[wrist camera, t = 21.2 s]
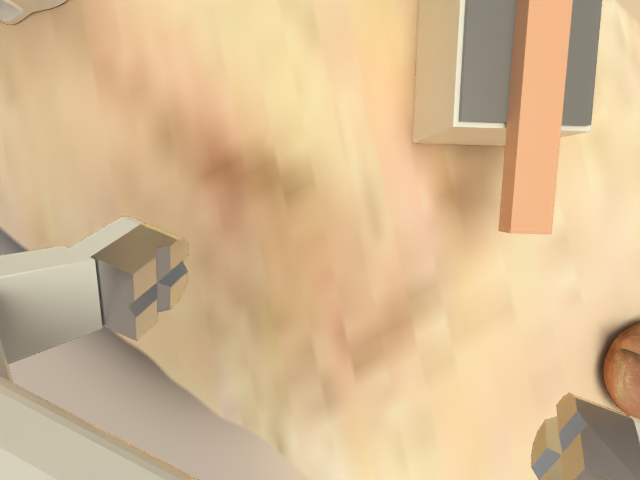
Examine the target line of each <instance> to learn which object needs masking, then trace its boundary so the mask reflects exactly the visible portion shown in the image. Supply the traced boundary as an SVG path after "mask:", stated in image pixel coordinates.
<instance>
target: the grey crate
mask: <svg viewBox="0 0 640 480" xmlns="http://www.w3.org/2000/svg"><path fill="white" fill-rule="evenodd" d="M516 3H517V0H419V11H418V32H417V53H416V74H415V95H414V116H413V137H412V143H427V144H457V145H487V146H505V143H506V130H507V117H508V104H509V92H510V79H511V66H512V53H513V41H514V28H515V15H516ZM601 7H602V0H573V4H572V15H571V26H570V37H569V48H568V59H567V70H566V81H565V92H564V102H563V113H562V124H561V135H560V137H565V136H570V135H575V134H580V133H585V132H590V129H591V120H592V109H593V97H594V86H595V75H596V64H597V52H598V41H599V30H600V19H601Z"/></svg>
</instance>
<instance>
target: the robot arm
mask: <svg viewBox="0 0 640 480" xmlns="http://www.w3.org/2000/svg"><path fill="white" fill-rule="evenodd" d="M66 1H67V0H0V5H1V8H0V21H2V22H4V23H6V24H8V25H13V24H16V23H18V22H20V21H21V20H23V19H24V18H25V17H27V16H28V15H29V14H31V13H33V12H37V11H41V10H46V9H50V8H53V7H56V6H58V5H60V4H62V3H64V2H66ZM187 256H188V243H187V242H186V241H185V240H184V239H183V238H180V237H178V236H176V235H173V234H171V233H169V232H166V231H164V230H162V229H159V228H157V227H155V226H152V225H150V224H146V223H144V222H142V221H139V220H137V219H135V218H132V217H130V216H122V217H120V218H119V219H117V220H115V221H113V222H112V223H110V224H108V225H107V226H105V227H103V228H102V229H100V230H98V231H97V232H95V233H93V234H91V235H90V236H88V237H86V238H85V239H83V240H81V241H80V242H78V243H76V244H75V245H73V246H71V247H70V248H67V247H65V246H57V247H51V248H45V249H38V250H32V251H26V252H20V253H14V254H7V255H1V256H0V480H199V479H197V478H195V477H192V476H191V475H189V474H187V473H185V472H183V471H181V470H179V469H177V468H175V467H174V466H172V465H170V464H168V463H166V462H164V461H162V460H160V459H158V458H156V457H154V456H152V455H151V454H149V453H147V452H145V451H143V450H141V449H139V448H137V447H135V446H133V445H131V444H129V443H128V442H126V441H124V440H122V439H120V438H118V437H116V436H114V435H112V434H110V433H108V432H106V431H104V430H103V429H101V428H99V427H97V426H95V425H93V424H91V423H89V422H87V421H85V420H83V419H81V418H80V417H78V416H76V415H74V414H72V413H70V412H68V411H66V410H64V409H62V408H60V407H58V406H56V405H54V404H53V403H51V402H49V401H47V400H45V399H43V398H41V397H39V396H37V395H35V394H33V393H31V392H30V391H28V390H26V389H23V388H22V387H20V386H18V385H16V384H14V383H13V380H12V376H11V373H10V369H9V366H8V364H10V363H13V362H16V361H18V360H21V359H24V358H26V357H29V356H31V355H34V354H36V353H39V352H42V351H45V350H47V349H50V348H52V347H55V346H58V345H60V344H63V343H66V342H68V341H71V340H74V339H76V338H79V337H81V336H84V335H87V334H89V333H92V332H95V331H97V330H100V329H102V328H103V327H106V328H108V329H110V330H113V331H115V332H117V333H120V334H122V335H124V336H127V337H129V338H131V339H134V340H136V341H137V340H138V339H139V338H140V337H141V336H142V335H143V334H144V333H146V332H147V331H148V330H149V329H150V328H151V327H152V326H153V325H154V324H155V323H156V322H157V317H158V312H162V311H165V310H169V309H171V308H172V307H173V306H174V305H175V304H176V303H177V302H178V301H179V299H180V297H181V296H182V294H183V292H184V291H185V288H186V284H187V281H188V271H187V269H186V267H185V265H184V263H183V260H184V259H185V258H186V257H187ZM556 407H557V417H553V418H550V419H546V420H545V421H544V422H543V424H542V425H541V427H540V428H539V430H538V431H537V434H536V437H535V440H534V442H533V447H532V454H531V468H532V469H533V471H534V473H535V474H536V476H537V478H538V479H539V480H640V419H637V418H634V417H632V416H629V415H625V414H622V413H620V412H617V411H615V410H612V409H610V408H607V407H605V406H602V405H599V404H597V403H594V402H592V401H589V400H587V399H584V398H582V397H579V396H576V395H574V394H571V393H568V394H566V395H565V396H563V397H562V399H561V400H560V401H559V402H558V404H557V405H556Z"/></svg>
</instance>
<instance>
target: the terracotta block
mask: <svg viewBox="0 0 640 480" xmlns="http://www.w3.org/2000/svg"><path fill="white" fill-rule="evenodd" d="M572 4H573V0H517V3H516V15H515V28H514V41H513V53H512V66H511V79H510V92H509V104H508V117H507V130H506V143H505V155H504V168H503V181H502V194H501V206H500V219H499V231H502V232H507V233H519V234H552V223H553V212H554V201H555V190H556V179H557V168H558V157H559V146H560V135H561V124H562V113H563V102H564V92H565V81H566V70H567V59H568V48H569V37H570V26H571V15H572Z"/></svg>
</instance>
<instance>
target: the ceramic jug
mask: <svg viewBox="0 0 640 480" xmlns="http://www.w3.org/2000/svg"><path fill="white" fill-rule="evenodd" d="M603 373H604V381H605V385H606V388H607V391H608V393H609V395H610V396H611V398H612V400H613V401H614V402H615V404H616V405H617V406H618V407H619V408H620V409H621V410H622V411H623V412H624V413H626V414H627V415H629V416H632V417H634V418H637V419H640V323H637V324H635V325H633V326H631V327H629V328H628V329H626V330H625V331H623V332H622V333H621V334H619V335H618V337H617V338H616V339H615V340H614V341H613V343H612V344H611V346H610V348H609V350H608V352H607V355H606V358H605V362H604V371H603Z"/></svg>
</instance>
